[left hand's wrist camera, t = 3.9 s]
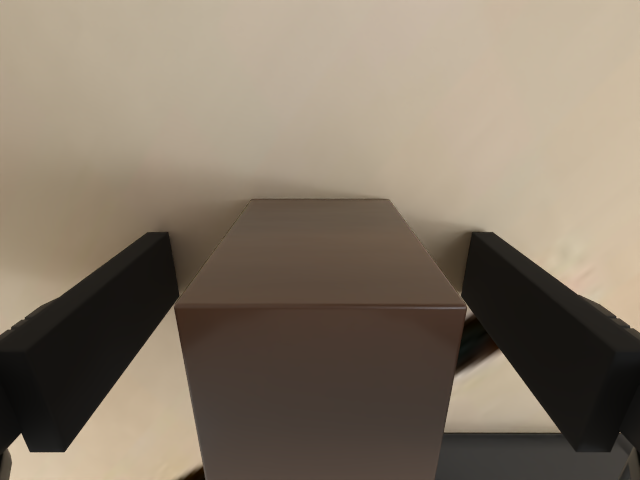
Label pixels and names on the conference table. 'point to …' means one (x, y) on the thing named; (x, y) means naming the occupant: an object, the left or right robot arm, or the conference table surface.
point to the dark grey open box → (526, 458)
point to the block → (320, 345)
